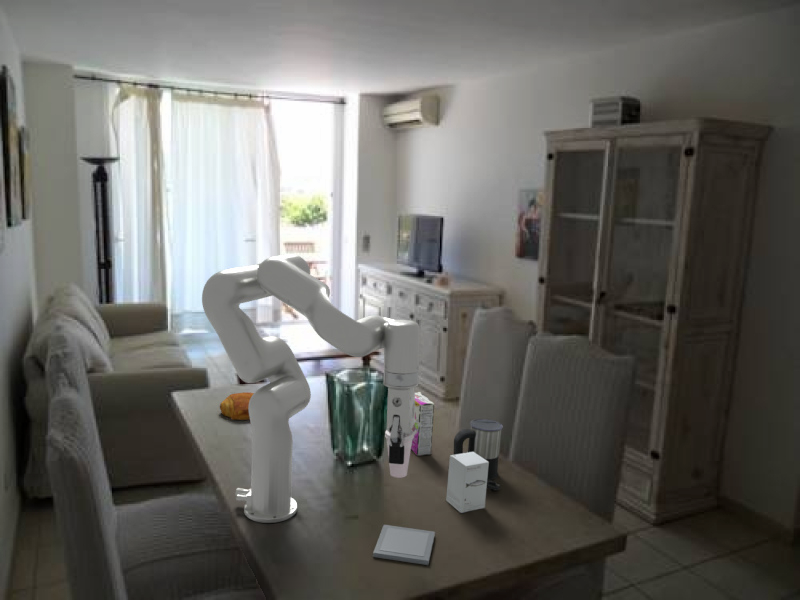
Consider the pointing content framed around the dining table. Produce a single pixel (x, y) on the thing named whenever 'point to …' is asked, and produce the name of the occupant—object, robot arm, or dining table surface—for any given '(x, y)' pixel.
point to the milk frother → (482, 445)
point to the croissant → (236, 406)
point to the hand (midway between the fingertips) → (399, 456)
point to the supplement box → (467, 481)
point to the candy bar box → (422, 425)
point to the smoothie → (402, 469)
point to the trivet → (404, 544)
